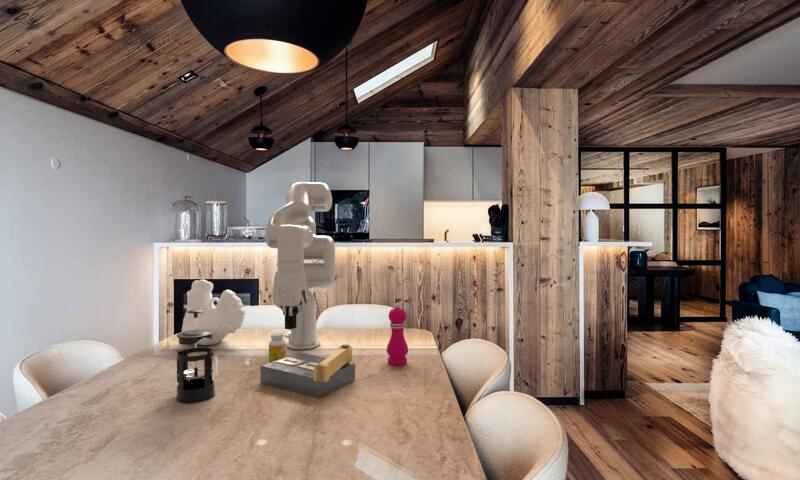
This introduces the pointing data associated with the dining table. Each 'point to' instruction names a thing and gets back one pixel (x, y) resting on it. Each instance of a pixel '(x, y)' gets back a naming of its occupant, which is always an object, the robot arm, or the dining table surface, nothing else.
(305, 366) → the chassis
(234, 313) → the decorative rooster
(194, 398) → the french press
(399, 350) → the pepper mill
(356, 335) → the dining table surface
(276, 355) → the supplement bottle
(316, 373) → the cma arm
